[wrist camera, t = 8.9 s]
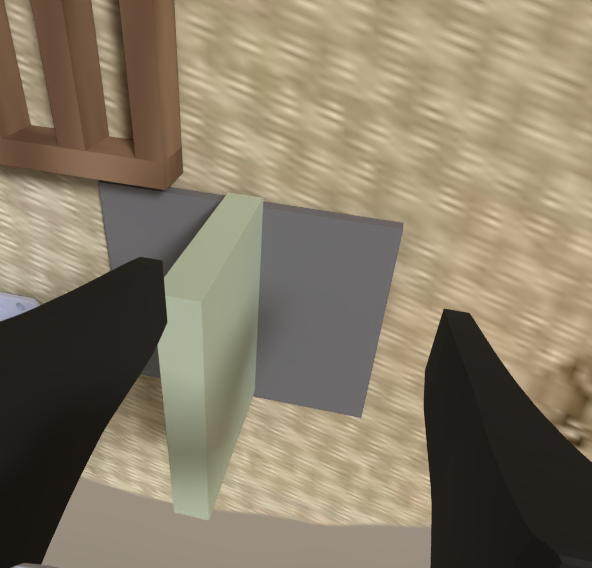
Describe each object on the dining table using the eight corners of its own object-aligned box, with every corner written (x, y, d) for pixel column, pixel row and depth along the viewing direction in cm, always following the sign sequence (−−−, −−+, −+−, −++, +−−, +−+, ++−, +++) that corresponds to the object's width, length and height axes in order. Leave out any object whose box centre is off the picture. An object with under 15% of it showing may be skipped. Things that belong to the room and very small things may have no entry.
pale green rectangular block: (227, 385, 29) (174, 512, 23) (228, 192, 22) (152, 293, 16) (254, 390, 29) (208, 520, 22) (263, 197, 22) (201, 302, 16)
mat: (131, 364, 31) (126, 371, 30) (104, 177, 24) (98, 181, 23) (361, 409, 29) (361, 417, 28) (403, 223, 22) (403, 229, 22)
